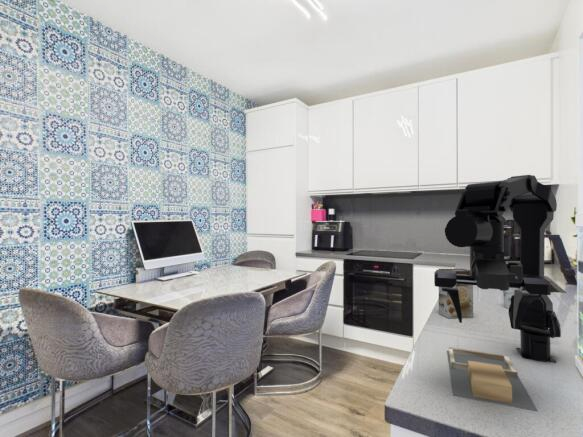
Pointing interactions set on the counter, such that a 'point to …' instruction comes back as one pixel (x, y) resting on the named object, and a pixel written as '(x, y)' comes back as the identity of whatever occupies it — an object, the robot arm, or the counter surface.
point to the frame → (463, 366)
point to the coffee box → (464, 296)
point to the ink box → (508, 296)
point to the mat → (463, 389)
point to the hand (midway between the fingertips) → (487, 325)
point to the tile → (489, 382)
